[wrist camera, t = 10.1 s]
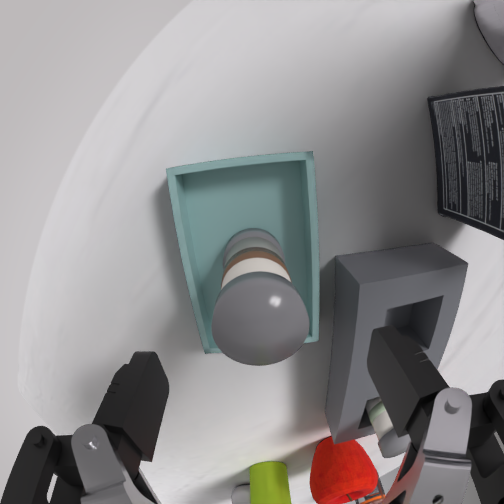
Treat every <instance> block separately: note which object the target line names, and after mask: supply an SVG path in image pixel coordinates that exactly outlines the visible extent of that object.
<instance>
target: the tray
mask: <svg viewBox="0 0 504 504" xmlns="http://www.w3.org/2000/svg"><path fill="white" fill-rule="evenodd" d="M166 173H167V179H168V186H169V192H170V199H171V205H172V210H173V216H174V222H175V227H176V233H177V238H178V243H179V248H180V253H181V258H182V263H183V267H184V272H185V276H186V281H187V285H188V290H189V294H190V298H191V302H192V306H193V311H194V315H195V318H196V322H197V326H198V330H199V334H200V338H201V341H202V345H203V349H204V352H205V354H206V353H222V351H221V350H220V349H219V348H218V347H217V345H216V343H215V341H214V339H213V336H212V331H211V325H212V319H213V313H214V307H215V301H216V299H217V296H218V294H219V292H220V291H221V282H222V276H223V256H224V251H225V247H226V244H227V242H228V241H229V239H230V238H231V237H232V236H233V235H234V234H236V233H237V232H239V231H241V230H244V229H247V228H259V229H263V230H266V231H268V232H270V233H271V234H272V235H273V236H275V238H276V239H277V240H278V242H279V244H280V246H281V248H282V251H283V253H284V257H285V265H286V267H287V270H288V272H289V275H290V278H291V281H292V284H293V285H294V286H295V287H296V288H297V290H298V291H299V293H300V295H301V298H302V300H303V303H304V305H305V308H306V311H307V313H308V317H309V332H308V335H307V338H306V340H305V341H304V343H309V342H315V341H319V237H318V214H317V196H316V181H315V168H314V157H313V151H310V152H293V153H280V154H268V155H258V156H248V157H239V158H231V159H223V160H216V161H209V162H203V163H196V164H190V165H184V166H178V167H173V168H168V169H166Z"/></svg>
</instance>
